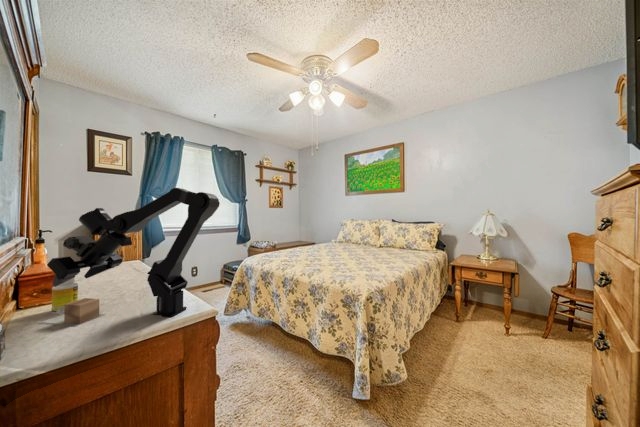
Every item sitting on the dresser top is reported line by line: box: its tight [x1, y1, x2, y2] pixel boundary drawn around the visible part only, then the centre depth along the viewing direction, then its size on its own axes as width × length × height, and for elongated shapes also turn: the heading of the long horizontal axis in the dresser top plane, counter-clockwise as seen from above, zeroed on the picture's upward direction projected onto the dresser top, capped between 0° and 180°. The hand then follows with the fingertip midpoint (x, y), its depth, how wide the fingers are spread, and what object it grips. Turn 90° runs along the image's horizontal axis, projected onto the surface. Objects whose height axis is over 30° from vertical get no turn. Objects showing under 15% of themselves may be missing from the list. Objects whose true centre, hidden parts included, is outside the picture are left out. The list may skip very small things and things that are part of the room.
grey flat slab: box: [37, 313, 107, 328], centre depth 68 cm, size 12×8×1 cm, turn 82°
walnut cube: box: [63, 297, 100, 325], centre depth 68 cm, size 5×5×5 cm
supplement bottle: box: [51, 277, 79, 315], centre depth 75 cm, size 6×6×10 cm
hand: (70, 281), depth 75 cm, fingers open, 9 cm apart
